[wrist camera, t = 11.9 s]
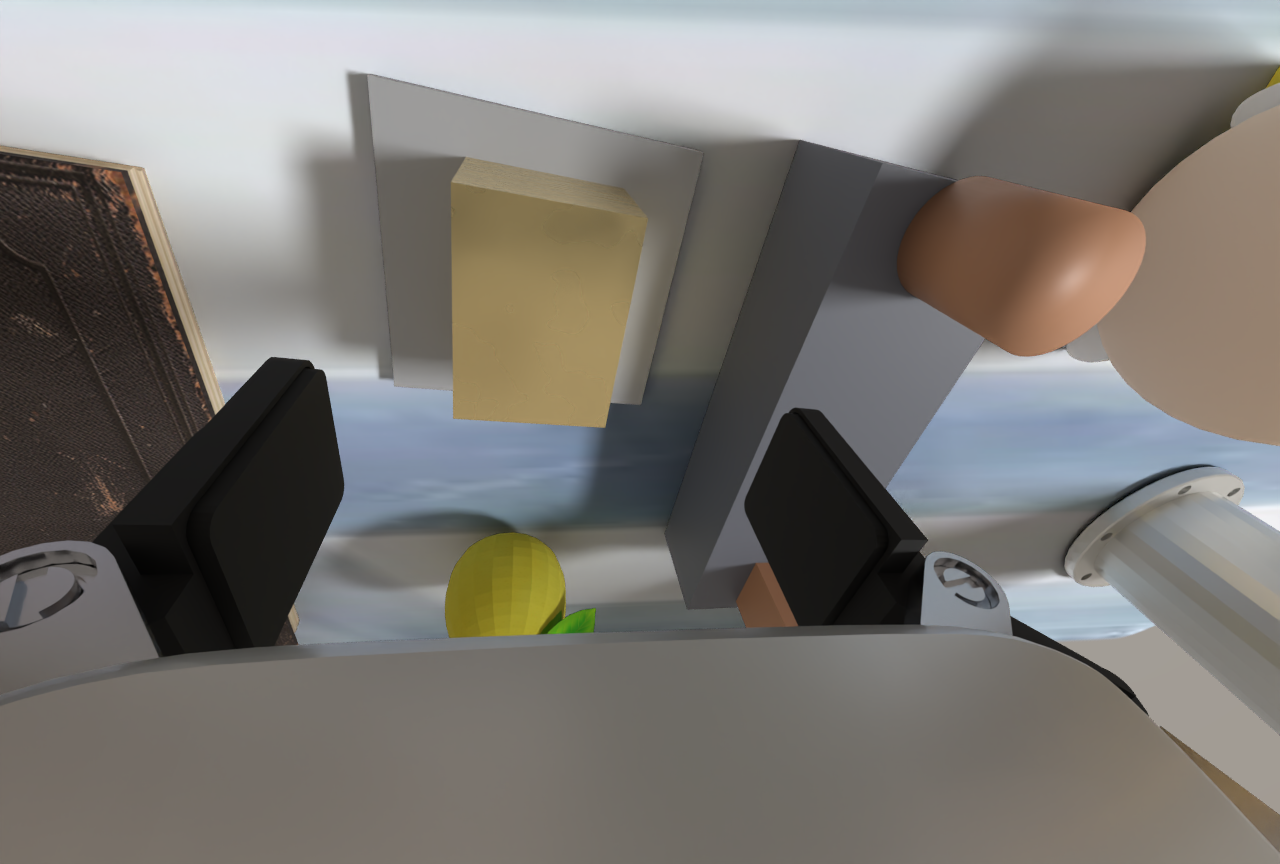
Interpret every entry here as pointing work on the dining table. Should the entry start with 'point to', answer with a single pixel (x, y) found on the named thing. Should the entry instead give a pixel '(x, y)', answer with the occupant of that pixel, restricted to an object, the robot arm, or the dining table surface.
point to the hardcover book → (90, 349)
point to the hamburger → (1208, 285)
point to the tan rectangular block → (539, 293)
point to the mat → (468, 127)
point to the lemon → (510, 591)
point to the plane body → (879, 332)
